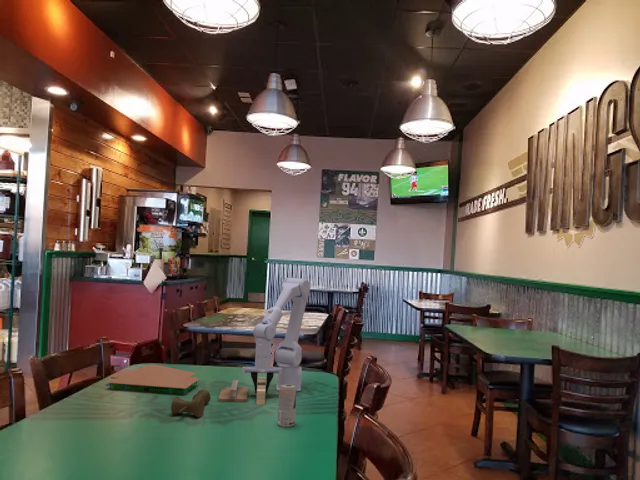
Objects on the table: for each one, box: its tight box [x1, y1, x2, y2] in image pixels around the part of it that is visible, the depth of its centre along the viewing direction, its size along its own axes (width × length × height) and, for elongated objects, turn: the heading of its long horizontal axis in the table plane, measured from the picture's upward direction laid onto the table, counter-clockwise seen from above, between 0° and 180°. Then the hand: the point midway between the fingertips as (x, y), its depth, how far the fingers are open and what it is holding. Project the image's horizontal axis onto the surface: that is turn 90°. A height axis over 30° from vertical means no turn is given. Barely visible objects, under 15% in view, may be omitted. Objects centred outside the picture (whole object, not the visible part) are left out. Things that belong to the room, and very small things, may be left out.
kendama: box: [170, 389, 211, 419], centre depth 161 cm, size 6×10×20 cm
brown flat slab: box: [106, 364, 200, 395], centre depth 191 cm, size 23×33×8 cm
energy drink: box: [277, 384, 297, 428], centre depth 153 cm, size 5×5×12 cm
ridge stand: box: [217, 379, 249, 403], centre depth 182 cm, size 10×16×4 cm, turn 7°
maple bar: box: [255, 376, 267, 406], centre depth 182 cm, size 20×3×5 cm, turn 6°
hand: (261, 392), depth 182 cm, fingers closed on maple bar, 3 cm apart
